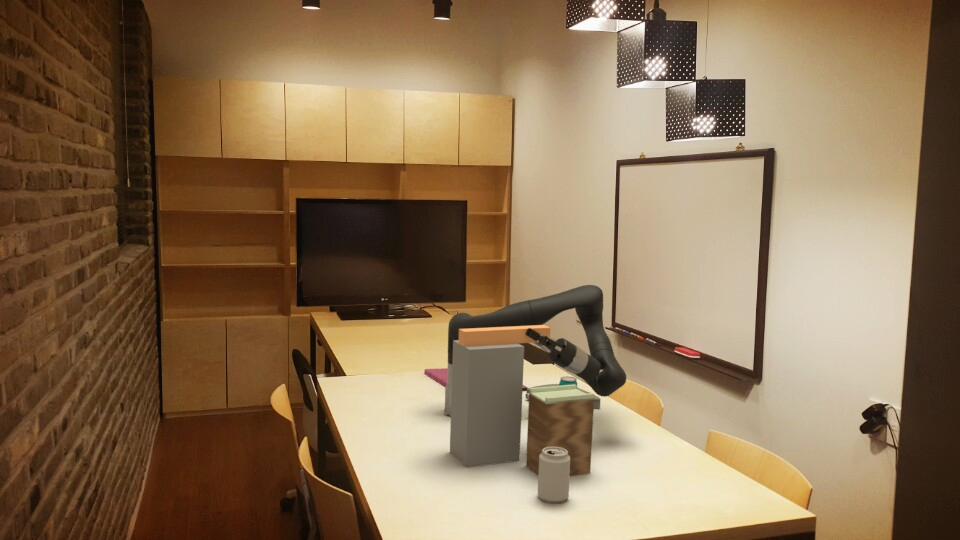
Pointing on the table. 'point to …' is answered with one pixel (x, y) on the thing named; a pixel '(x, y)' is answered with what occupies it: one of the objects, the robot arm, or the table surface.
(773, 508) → the table surface
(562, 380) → the beverage can
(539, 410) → the walnut pedestal
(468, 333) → the orange wooden bar
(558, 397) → the green tray
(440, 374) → the thin magenta plate
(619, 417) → the table surface
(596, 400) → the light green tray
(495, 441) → the grey stand
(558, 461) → the can
